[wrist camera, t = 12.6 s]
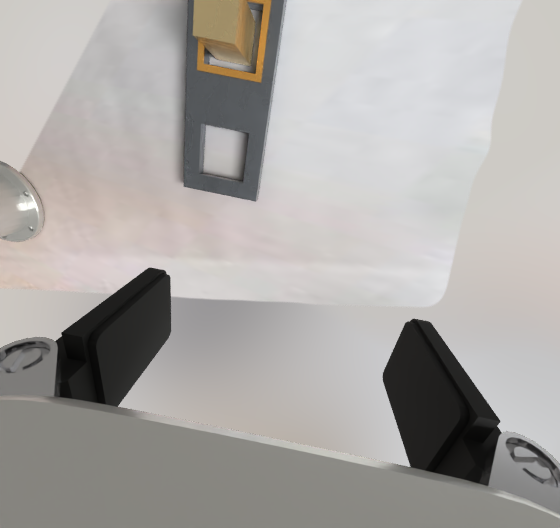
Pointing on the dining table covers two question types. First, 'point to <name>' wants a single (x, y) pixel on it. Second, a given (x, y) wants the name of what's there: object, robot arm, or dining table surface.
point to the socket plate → (231, 104)
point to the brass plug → (225, 29)
